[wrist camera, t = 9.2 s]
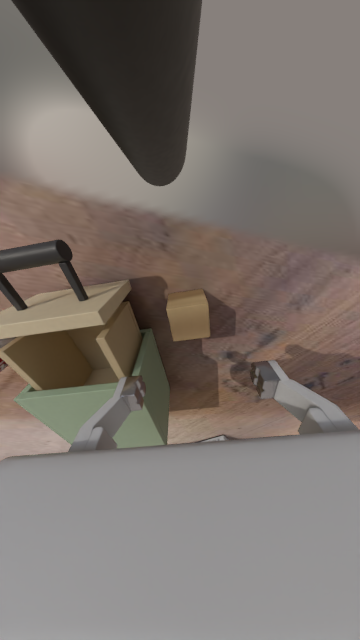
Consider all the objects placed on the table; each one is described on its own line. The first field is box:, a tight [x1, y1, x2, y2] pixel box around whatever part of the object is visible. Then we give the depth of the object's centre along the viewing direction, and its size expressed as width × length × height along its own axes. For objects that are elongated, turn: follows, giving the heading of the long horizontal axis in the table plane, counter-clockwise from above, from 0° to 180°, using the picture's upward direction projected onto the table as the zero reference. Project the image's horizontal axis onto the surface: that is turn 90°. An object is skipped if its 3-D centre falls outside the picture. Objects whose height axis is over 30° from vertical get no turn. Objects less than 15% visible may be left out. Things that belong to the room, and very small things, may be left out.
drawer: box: [0, 240, 143, 391], centre depth 17 cm, size 18×11×8 cm, turn 9°
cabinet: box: [14, 328, 170, 448], centre depth 22 cm, size 15×13×10 cm
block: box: [166, 289, 210, 341], centre depth 18 cm, size 4×4×4 cm
